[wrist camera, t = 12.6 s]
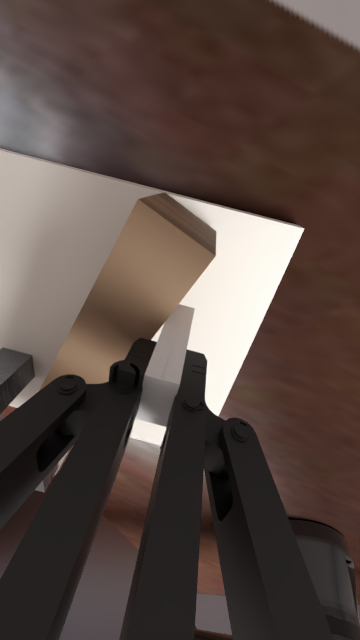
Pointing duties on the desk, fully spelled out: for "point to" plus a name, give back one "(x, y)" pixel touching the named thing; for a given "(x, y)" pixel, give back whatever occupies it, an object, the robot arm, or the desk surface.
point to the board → (92, 252)
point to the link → (136, 287)
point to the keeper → (17, 387)
